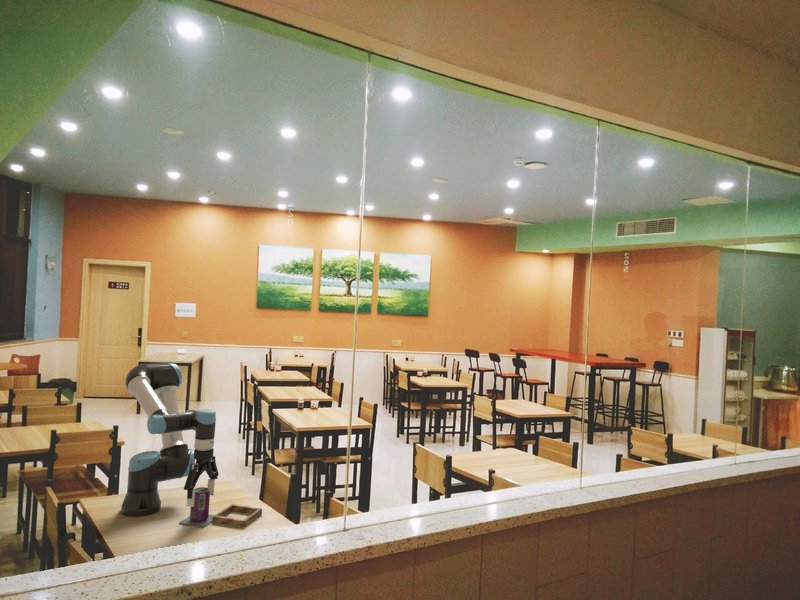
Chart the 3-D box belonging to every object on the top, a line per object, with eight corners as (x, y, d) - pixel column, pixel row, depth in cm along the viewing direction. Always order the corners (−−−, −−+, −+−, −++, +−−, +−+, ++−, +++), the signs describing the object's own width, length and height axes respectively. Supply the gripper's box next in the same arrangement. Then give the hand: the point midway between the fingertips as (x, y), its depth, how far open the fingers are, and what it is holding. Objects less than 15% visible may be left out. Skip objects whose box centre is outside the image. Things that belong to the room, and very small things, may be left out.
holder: (212, 522, 208) (212, 516, 208) (231, 509, 222) (232, 504, 222) (244, 527, 205) (244, 521, 205) (261, 514, 219) (262, 508, 219)
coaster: (178, 523, 205) (179, 522, 205) (195, 513, 216) (195, 512, 216) (203, 527, 202) (203, 526, 202) (219, 517, 213) (219, 516, 213)
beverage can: (211, 517, 212) (213, 488, 212) (201, 523, 205) (203, 493, 205) (196, 514, 213) (198, 485, 213) (186, 521, 206) (188, 491, 206)
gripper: (193, 457, 197) (189, 512, 196) (229, 442, 221) (225, 491, 220) (176, 454, 199) (172, 510, 198) (213, 440, 223) (210, 489, 222)
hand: (200, 500), depth 209 cm, fingers open, 13 cm apart
